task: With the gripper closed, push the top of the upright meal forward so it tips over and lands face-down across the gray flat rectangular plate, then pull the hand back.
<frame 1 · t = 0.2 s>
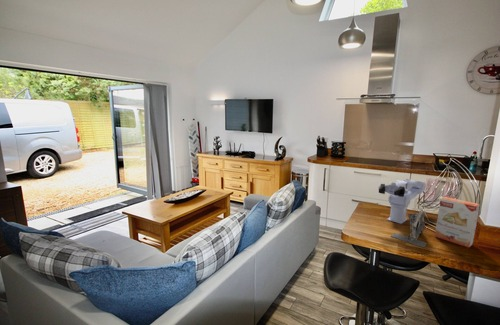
hand: (386, 192, 134), 21 cm above the breakfast bar, tool horizontal, fingers open, 7 cm apart
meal: (413, 237, 128), on the breakfast bar, touching gray flat rectangular plate
gray flat rectangular plate: (408, 240, 125), on the breakfast bar
cracker box: (452, 241, 125), on the breakfast bar
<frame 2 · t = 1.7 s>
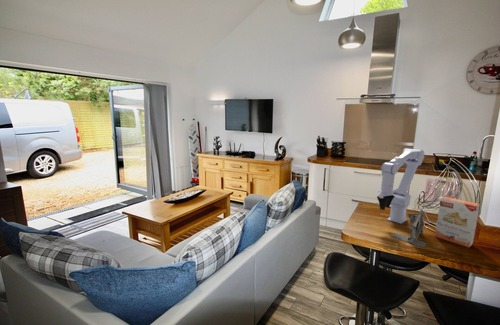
hand: (384, 208, 140), 10 cm above the breakfast bar, tool pointing down, fingers open, 6 cm apart
nothing on the breakfast bar moved.
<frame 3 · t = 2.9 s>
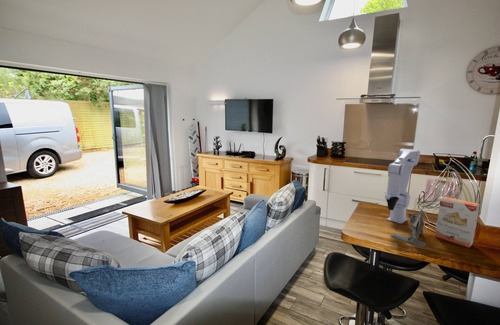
hand: (390, 209, 138), 10 cm above the breakfast bar, tool pointing down, fingers closed
nothing on the breakfast bar moved.
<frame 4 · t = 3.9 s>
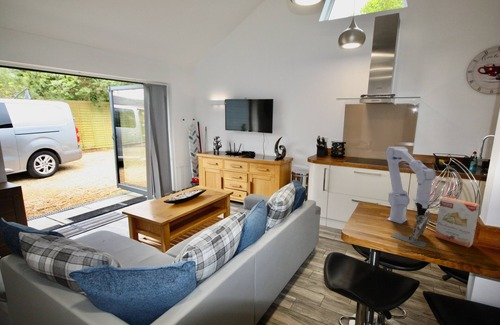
hand: (420, 217, 131), 9 cm above the breakfast bar, tool pointing down, fingers closed
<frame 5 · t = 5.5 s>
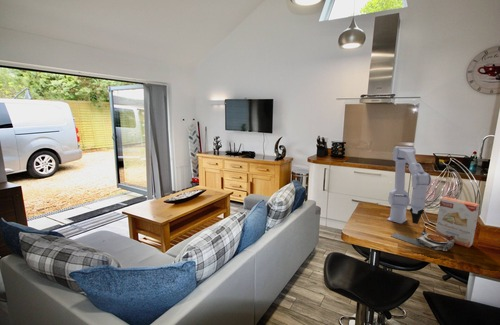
hand: (415, 223, 127), 8 cm above the breakfast bar, tool pointing down, fingers closed
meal: (419, 234, 126), point 2 cm above the breakfast bar, touching gray flat rectangular plate
everything else where it was.
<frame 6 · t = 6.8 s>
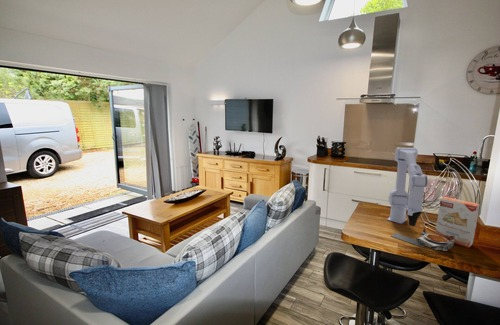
hand: (412, 225, 124), 8 cm above the breakfast bar, tool pointing down, fingers closed
nothing on the breakfast bar moved.
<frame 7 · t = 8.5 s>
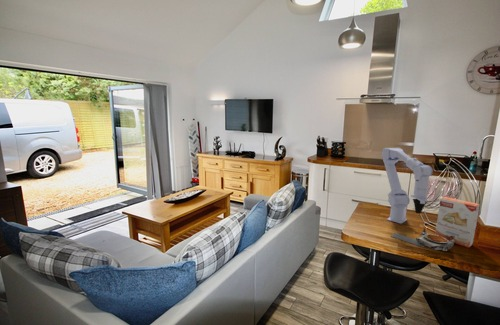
hand: (418, 213, 133), 10 cm above the breakfast bar, tool pointing down, fingers closed
nothing on the breakfast bar moved.
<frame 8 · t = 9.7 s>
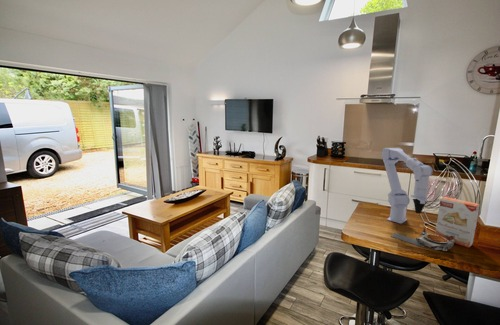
hand: (418, 213, 133), 10 cm above the breakfast bar, tool pointing down, fingers closed
nothing on the breakfast bar moved.
at the end: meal tilted 92°; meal inside the target area (5.6 cm from its centre), point 2.3 cm above the breakfast bar; cracker box moved 0.2 cm from its start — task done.
